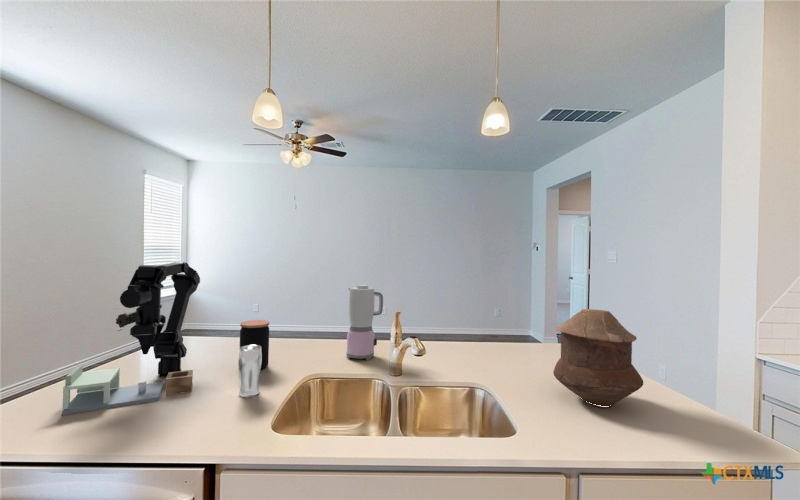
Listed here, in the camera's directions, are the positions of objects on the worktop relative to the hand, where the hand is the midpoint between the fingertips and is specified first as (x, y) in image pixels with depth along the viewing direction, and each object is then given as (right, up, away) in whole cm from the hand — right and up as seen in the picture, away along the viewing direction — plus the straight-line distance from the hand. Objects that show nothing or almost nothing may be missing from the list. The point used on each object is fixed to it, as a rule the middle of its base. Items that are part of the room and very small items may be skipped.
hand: (148, 350), depth 115 cm
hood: (-9, -11, -10) cm, 18 cm away
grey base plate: (-4, -13, -8) cm, 15 cm away
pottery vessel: (+147, -17, 0) cm, 148 cm away
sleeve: (+10, -13, 0) cm, 16 cm away
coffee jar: (+25, -14, +22) cm, 36 cm away
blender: (+67, -15, +40) cm, 79 cm away
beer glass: (+34, -14, -2) cm, 37 cm away
